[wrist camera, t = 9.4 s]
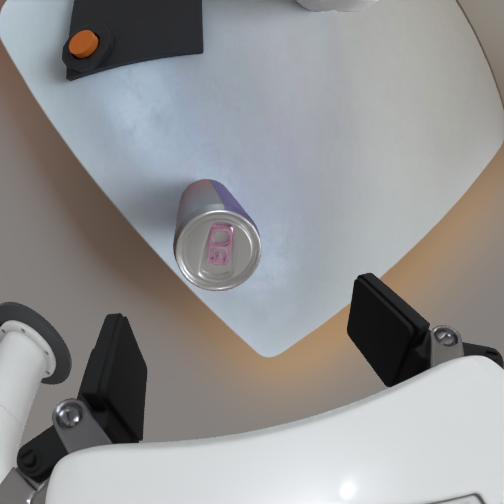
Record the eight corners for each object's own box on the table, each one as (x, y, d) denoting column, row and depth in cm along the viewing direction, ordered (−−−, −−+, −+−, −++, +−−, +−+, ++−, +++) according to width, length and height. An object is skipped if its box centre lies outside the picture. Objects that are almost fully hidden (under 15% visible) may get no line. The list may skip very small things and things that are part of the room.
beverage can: (235, 181, 31) (272, 213, 17) (227, 230, 33) (255, 296, 19) (183, 175, 29) (177, 202, 16) (177, 226, 31) (170, 290, 18)
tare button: (73, 61, 19) (67, 57, 17) (75, 39, 17) (69, 35, 16) (97, 53, 19) (92, 49, 17) (99, 32, 18) (94, 26, 16)
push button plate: (70, 81, 21) (60, 76, 19) (79, -5, 16) (72, -14, 13) (202, 53, 24) (204, 44, 21) (200, -30, 18) (202, -42, 16)
